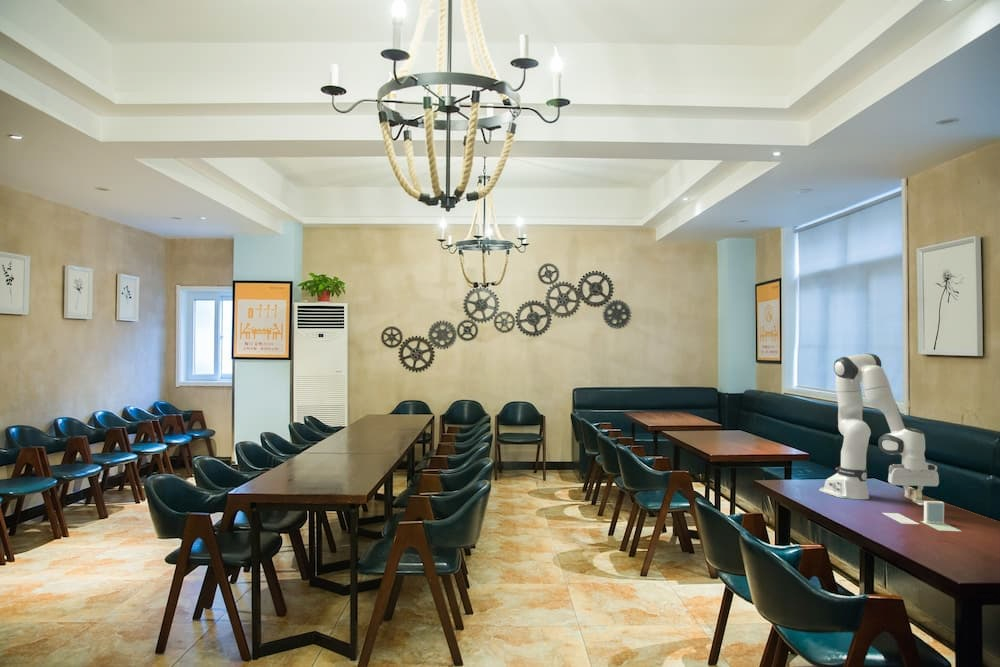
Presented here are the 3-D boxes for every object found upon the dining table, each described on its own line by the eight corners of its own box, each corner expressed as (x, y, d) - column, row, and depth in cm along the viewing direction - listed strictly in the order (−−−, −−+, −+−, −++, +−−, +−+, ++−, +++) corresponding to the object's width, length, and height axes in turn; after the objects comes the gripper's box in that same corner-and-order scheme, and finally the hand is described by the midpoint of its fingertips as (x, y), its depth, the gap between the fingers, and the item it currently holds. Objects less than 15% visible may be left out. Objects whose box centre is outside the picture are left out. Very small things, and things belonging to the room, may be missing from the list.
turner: (901, 496, 285) (901, 486, 285) (913, 496, 284) (913, 486, 284) (920, 505, 270) (920, 495, 270) (932, 505, 269) (932, 495, 269)
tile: (923, 521, 266) (924, 500, 266) (940, 522, 266) (941, 501, 266) (926, 523, 264) (927, 502, 264) (944, 524, 263) (944, 502, 263)
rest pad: (882, 514, 278) (882, 512, 278) (898, 514, 278) (898, 513, 278) (902, 524, 262) (902, 523, 262) (919, 525, 262) (919, 524, 262)
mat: (919, 521, 267) (919, 520, 267) (941, 522, 266) (941, 521, 266) (938, 531, 254) (938, 530, 254) (961, 532, 254) (961, 531, 254)
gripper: (892, 465, 278) (892, 496, 278) (941, 466, 276) (940, 497, 276) (885, 462, 284) (885, 492, 284) (932, 463, 282) (932, 494, 282)
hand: (913, 495), depth 280 cm, fingers closed on turner, 2 cm apart
